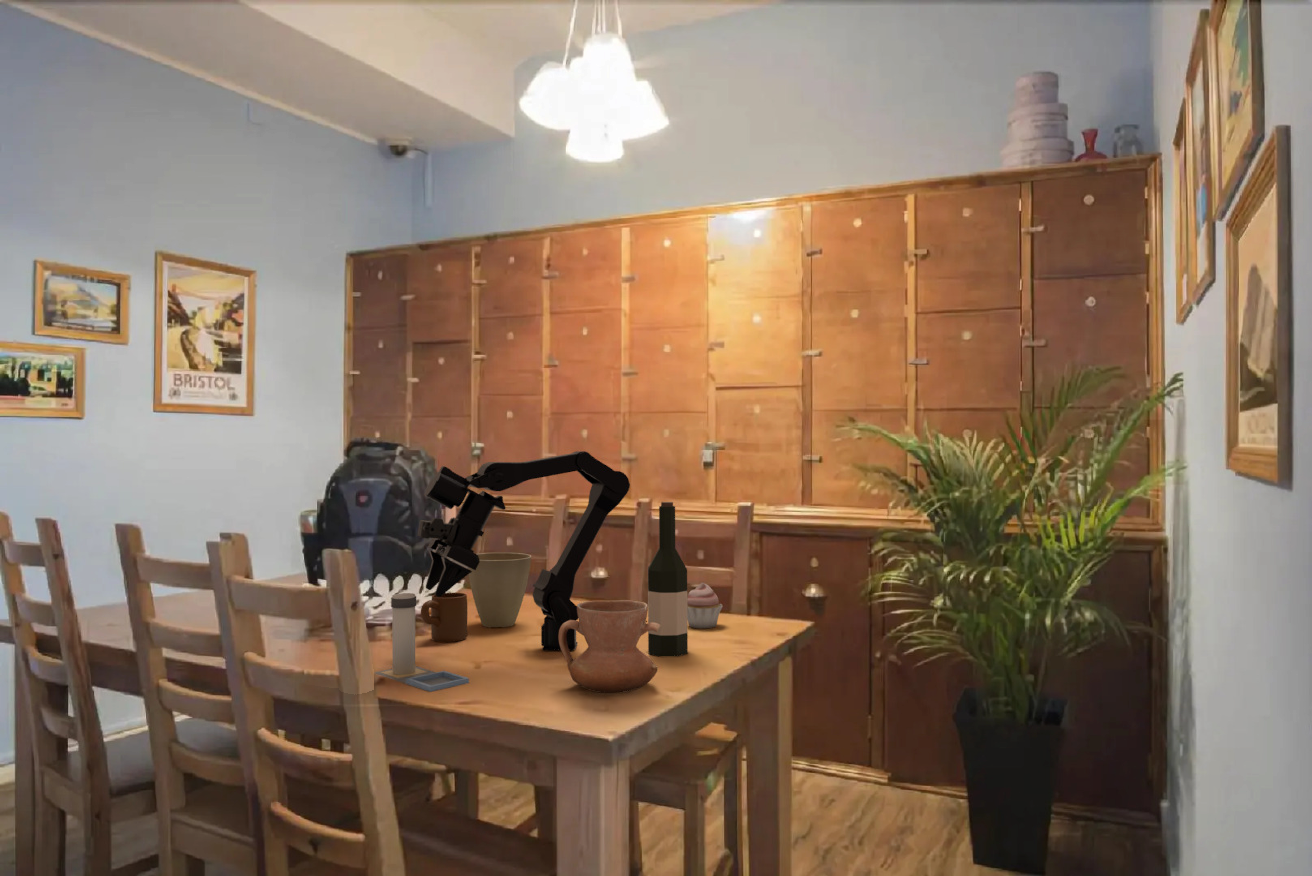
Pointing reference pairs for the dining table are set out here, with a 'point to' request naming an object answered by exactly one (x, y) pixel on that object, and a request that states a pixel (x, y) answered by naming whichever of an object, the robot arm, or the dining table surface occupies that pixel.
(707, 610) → the cupcake
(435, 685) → the grey rectangular board
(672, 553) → the wine bottle
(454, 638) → the mug
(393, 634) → the white grey banded cylinder
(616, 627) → the ceramic jug
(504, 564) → the plant pot
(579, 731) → the dining table surface
